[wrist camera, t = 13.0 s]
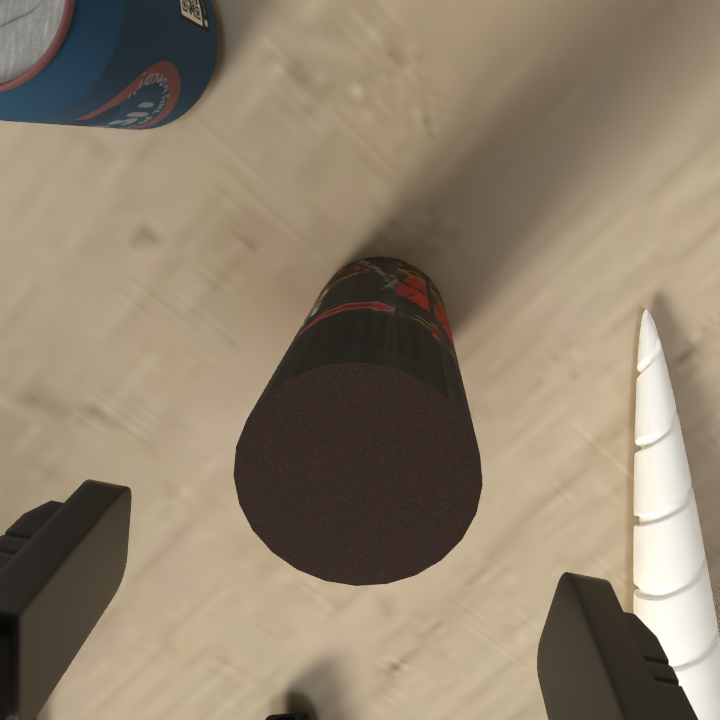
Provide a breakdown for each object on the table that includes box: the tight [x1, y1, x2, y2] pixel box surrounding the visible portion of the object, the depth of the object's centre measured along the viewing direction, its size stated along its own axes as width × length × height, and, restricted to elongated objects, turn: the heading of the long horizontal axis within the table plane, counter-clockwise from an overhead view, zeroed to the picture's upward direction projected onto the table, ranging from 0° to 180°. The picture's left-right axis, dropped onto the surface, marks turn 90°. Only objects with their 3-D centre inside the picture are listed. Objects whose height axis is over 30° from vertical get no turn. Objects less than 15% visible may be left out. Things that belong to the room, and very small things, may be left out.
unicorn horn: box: [633, 309, 720, 720], centre depth 30 cm, size 5×24×5 cm, turn 7°
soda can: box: [0, 0, 218, 130], centre depth 22 cm, size 7×7×12 cm
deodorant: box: [234, 257, 482, 586], centre depth 23 cm, size 6×6×15 cm
